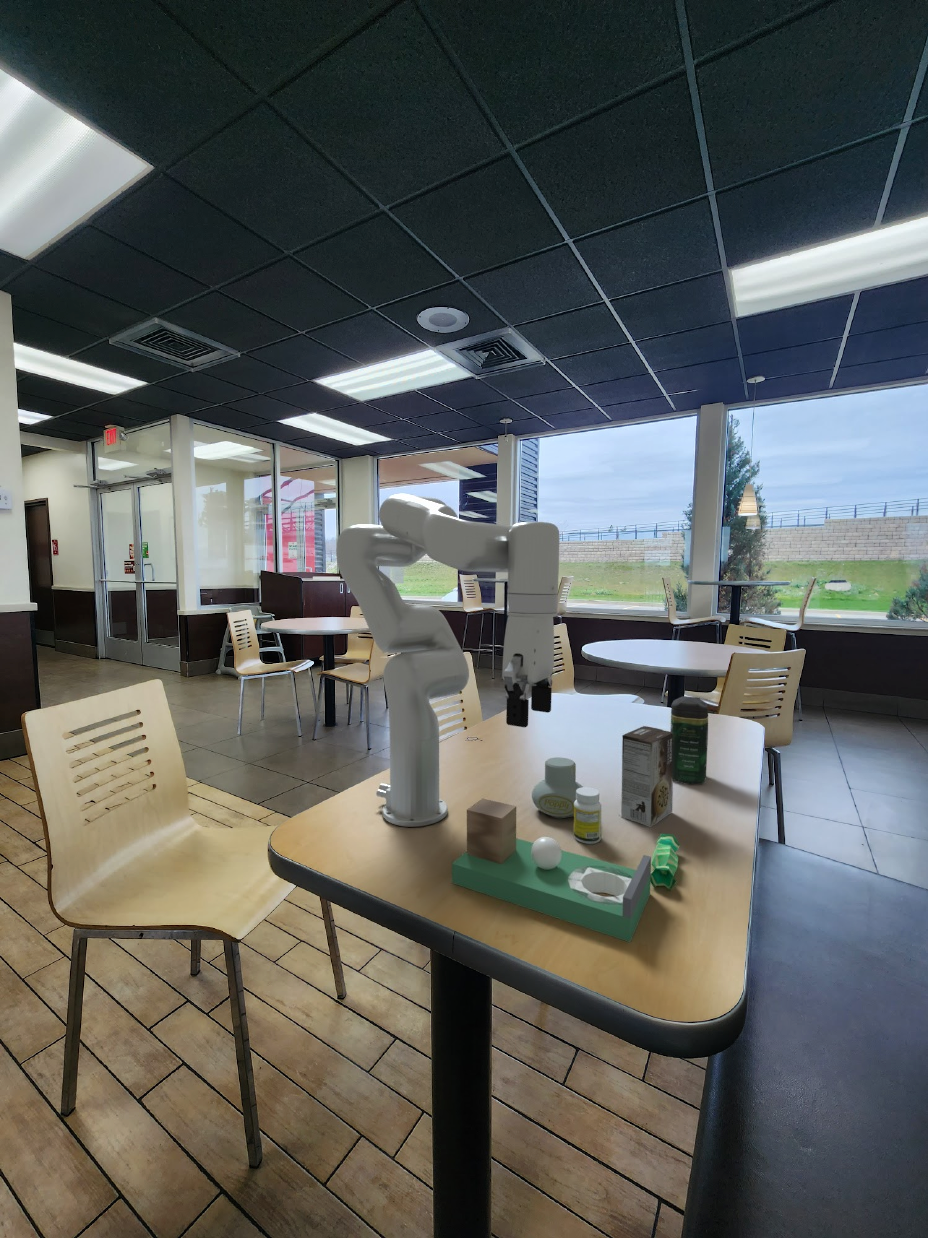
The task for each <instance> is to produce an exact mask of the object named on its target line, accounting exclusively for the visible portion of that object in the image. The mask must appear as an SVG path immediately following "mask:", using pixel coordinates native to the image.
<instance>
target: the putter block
mask: <svg viewBox="0 0 928 1238" xmlns="http://www.w3.org/2000/svg"><path fill="white" fill-rule="evenodd" d="M516 838H517V805H514V804H513V805H512V804H509V803H504V802H499V801H495V800H491V799H486V798H480V800H478V801H476V803H474V804H473V805H471V806H470V807H468V808H467V809H466V851H467V854H468V855H471V856H475V857H478V858H482V859H485V860H488V861H492V862H495V863H499V864H503V863H504V862H505V861H506V860H507V859H508V858H509V857H510V856H511V855H512V854H513V853H514V852H515V851H516Z"/></svg>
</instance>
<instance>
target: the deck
mask: <svg viewBox="0 0 928 1238" xmlns="http://www.w3.org/2000/svg"><path fill="white" fill-rule="evenodd" d="M533 844H534V842H532V841H528V840H524V839H520V838H517V837H516V851H515V852H514V853H513V854H512V855H511V856H510V857H509V858H508V859H507V860H506V861H505V862H504V863H503V864H499V863H495V862H492V861H488V860H485V859H482V858H478V857H475V856H471V855H468V854H467V850H466V851H465V852H464V853H462V855H460V856H459V857H458V858H457V859H455V861H453V862H452V863H451V883H452V884H453V885H457V886H461V887H463V888H465V889H469V890H472V891H474V892H478V893H481V894H484V895H487V896H490V897H492V898H493V897H494V898H495V899H499V900H502V901H505V902H508V903H510V904H514V905H517V906H521V907H523V908H526V909H529V910H531V911H535V912H539V913H541V914H544V915H547V916H550V917H553V918H556V919H560V920H562V921H565V922H569V923H571V924H574V925H577V926H580V927H583V928H586V929H589V930H591V931H596V932H599V933H601V934H605V935H606V936H607V935H608V936H610V937H613V938H617V939H619V940H622V941H625V942H629V943H632V942H631V941H632V938H633V936H634V934H635V932H636V930H637V927H638V924H639V922H640V920H641V917H642V915H643V912H644V910H645V907H646V905H647V903H648V901H649V897H650V895H651V882H650V879H651V872H652V871H651V869H652V867H651V866H652V864H651V863H652V857H651V856H649V855H646V854H644V855H642V858H641V859H640V862H639V864H638V866H637V868H636V869H634V868H630V867H627V866H623V865H619V864H615V863H613V862H608V861H605V860H599V859H596V858H593V857H589V856H585V855H581V854H577V853H573V852H569V851H566V850H562V849H561V852H562V857H561V860H560V862H559V864H558V865H557V866H556V867H555V868H553V869H549V870H545V869H542V868H540V867H538V866H537V865H536V864H535V863H534V861H533V859H532V855H531V849H532V846H533ZM597 893H605V894H607V895H611V896H602V895H599V894H597Z"/></svg>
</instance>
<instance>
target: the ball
mask: <svg viewBox="0 0 928 1238" xmlns="http://www.w3.org/2000/svg"><path fill="white" fill-rule="evenodd" d="M533 843H534V844H533V846H532V849H531V855H532V859H533V861H534V863H535V864H536V865H537V866H538V867H540V868H542V869H545V870H549V869H553V868H555V867H556V866H557V865H558V864H559V862H560V860H561V857H562V852H561V850H562V848H561V846H560V844H559V843H558V841H557V840H555V839H554V838H552V837H551V836H541V837H539V838H537V839H536V840H535V841H534V842H533Z"/></svg>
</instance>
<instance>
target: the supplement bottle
mask: <svg viewBox="0 0 928 1238" xmlns="http://www.w3.org/2000/svg"><path fill="white" fill-rule="evenodd" d="M573 838H574V839H575V840H576V841H578V842H580V843H583V844H588V845H594V844H597V843H600V841H601V839H602V803H601V801H600V791H599V790H598V789H596V788H593V787H588V786H587V787H586V786H585V787H584V786H583V787H581V788H578V789H577V790H576V800H575V802H574V816H573Z"/></svg>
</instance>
